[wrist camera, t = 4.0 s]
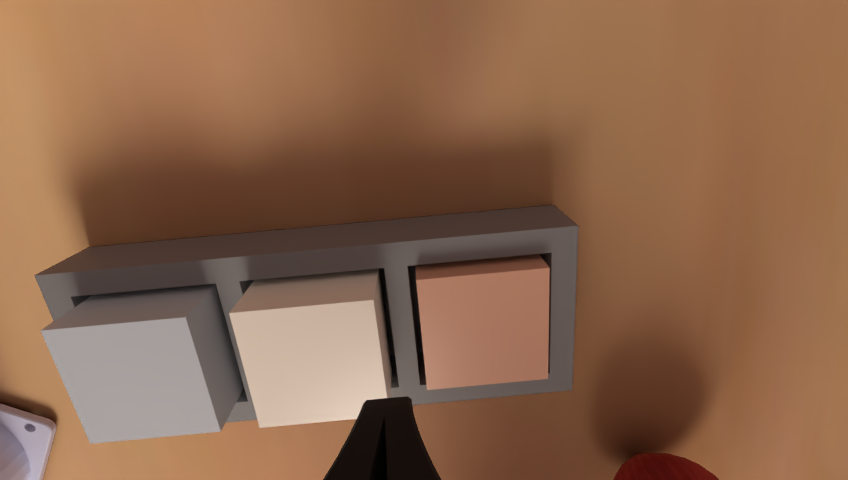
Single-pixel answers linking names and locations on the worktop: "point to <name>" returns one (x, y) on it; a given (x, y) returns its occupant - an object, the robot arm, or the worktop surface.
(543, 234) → the key panel
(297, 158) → the worktop surface
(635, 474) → the onion
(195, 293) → the light gray key
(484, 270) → the terracotta key
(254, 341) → the cream key
